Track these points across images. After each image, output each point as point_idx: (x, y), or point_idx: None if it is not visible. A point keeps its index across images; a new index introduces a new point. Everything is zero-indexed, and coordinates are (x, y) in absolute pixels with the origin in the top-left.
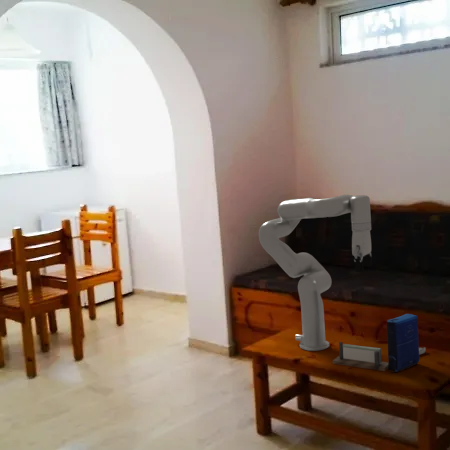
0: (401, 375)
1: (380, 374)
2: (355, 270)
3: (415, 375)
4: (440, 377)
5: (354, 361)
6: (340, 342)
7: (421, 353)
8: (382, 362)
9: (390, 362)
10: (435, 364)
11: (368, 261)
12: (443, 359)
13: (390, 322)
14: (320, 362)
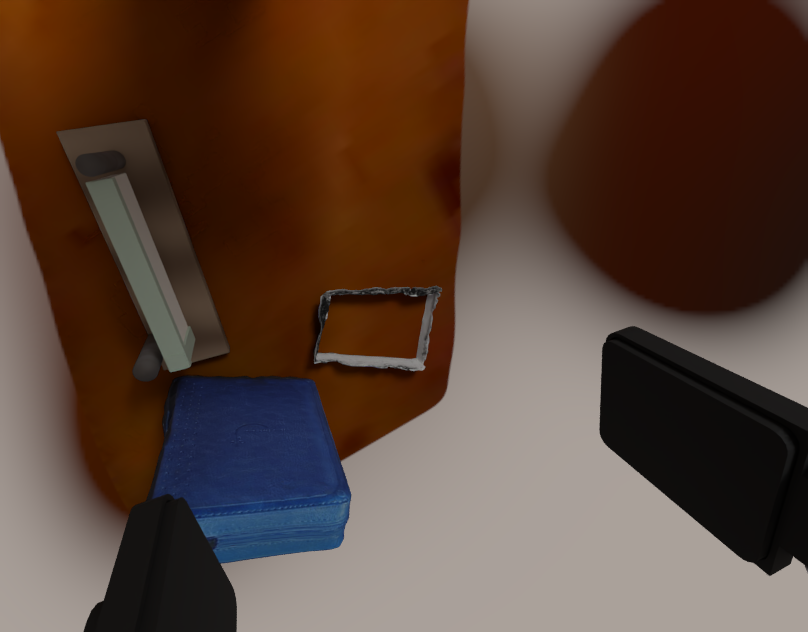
0: None
1: (122, 373)
2: (131, 520)
3: None
4: None
5: None
6: (87, 163)
7: (400, 358)
8: (212, 331)
9: (165, 408)
10: (335, 437)
11: (674, 468)
12: (387, 429)
13: None
14: (18, 56)
